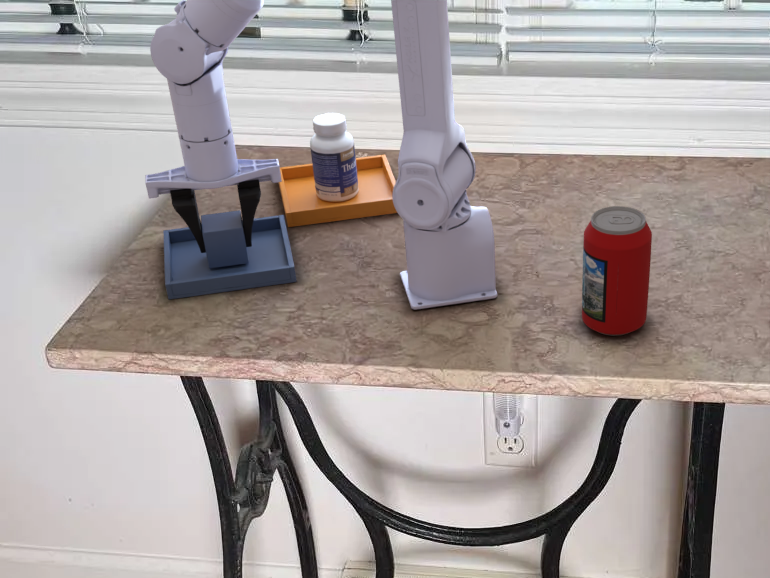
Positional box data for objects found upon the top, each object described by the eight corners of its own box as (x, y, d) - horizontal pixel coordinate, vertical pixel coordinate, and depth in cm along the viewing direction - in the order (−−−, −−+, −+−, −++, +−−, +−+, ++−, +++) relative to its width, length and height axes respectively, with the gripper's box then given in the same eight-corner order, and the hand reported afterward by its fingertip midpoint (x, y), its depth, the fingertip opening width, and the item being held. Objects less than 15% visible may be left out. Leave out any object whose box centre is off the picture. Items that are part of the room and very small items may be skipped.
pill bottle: (352, 204, 146) (344, 128, 140) (310, 202, 147) (301, 126, 141) (364, 185, 150) (356, 111, 144) (323, 183, 151) (314, 109, 145)
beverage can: (580, 306, 127) (583, 203, 119) (644, 306, 126) (651, 202, 118) (581, 340, 121) (584, 234, 114) (648, 340, 121) (655, 234, 113)
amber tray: (386, 167, 155) (385, 154, 154) (403, 212, 145) (402, 197, 144) (278, 181, 153) (276, 167, 152) (287, 227, 143) (285, 213, 142)
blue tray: (285, 228, 143) (283, 214, 142) (296, 281, 133) (294, 266, 132) (166, 244, 141) (163, 230, 140) (168, 299, 131) (165, 284, 130)
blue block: (246, 245, 138) (240, 209, 136) (249, 263, 135) (242, 227, 132) (207, 250, 138) (200, 215, 135) (209, 268, 134) (202, 232, 131)
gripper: (269, 109, 131) (286, 221, 140) (136, 125, 129) (161, 238, 137) (275, 134, 126) (292, 249, 134) (136, 151, 123) (162, 267, 132)
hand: (226, 245), depth 135 cm, fingers closed on blue block, 4 cm apart
